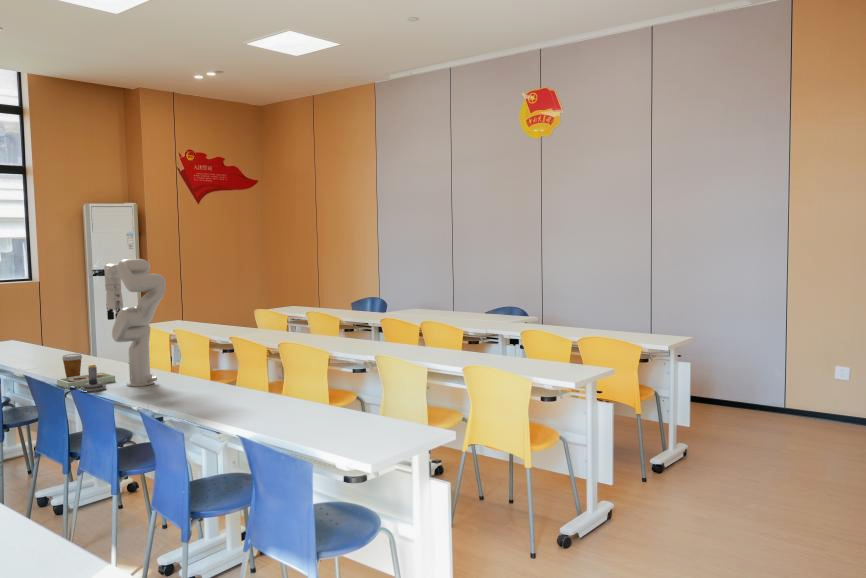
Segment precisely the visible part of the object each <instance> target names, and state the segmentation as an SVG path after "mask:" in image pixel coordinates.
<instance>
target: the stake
mask: <svg viewBox="0 0 866 578" xmlns="http://www.w3.org/2000/svg"><path fill="white" fill-rule="evenodd" d="M87 369H88V372H87V373H88V375H89V383H86V384H84V387H80V391H81V390H83V391H87V392H88V393H97V392H102V390H103V391H105V390H107V385H106V384H103V383H102V382H97V373H98V368H97V365H96V364H95V363H94V364H88V365H87ZM87 392H86V393H87Z"/></svg>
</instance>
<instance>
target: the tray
mask: <svg viewBox="0 0 866 578" xmlns="http://www.w3.org/2000/svg"><path fill="white" fill-rule="evenodd" d="M97 374H105V377H102V378H97V382H102V383H105V384H111V383H115V382H116V375H114V374H111V373H107V372H103V371H102V372H97ZM88 376H89V374H83V375H80V376H75V377H69V378H66V377H64V378H57V379H56V385H57V386H58V387H60V388H64V389H66V390H71V389H70V386H74V387H77V388H76V389H79V388H80V389H81V387H84V384H86V383H89V380H83V381H76V382H70V383H69V382H68V379H71V378H76V377H88Z"/></svg>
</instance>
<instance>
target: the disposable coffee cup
mask: <svg viewBox="0 0 866 578" xmlns="http://www.w3.org/2000/svg"><path fill="white" fill-rule="evenodd" d="M82 358H83V356H82V354H81V353H69V354H64V355H63V356H62V357H61V359H62V362H63V366H64V371H65V378H69V377H75V376H81V370H82V369H81V368H82Z"/></svg>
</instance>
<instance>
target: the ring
mask: <svg viewBox="0 0 866 578" xmlns="http://www.w3.org/2000/svg"><path fill="white" fill-rule="evenodd" d="M102 377H105V374H97V378H102ZM83 380H89V376H88V377H76V378H71V379H68V382H69V383H70V382H76V381H83Z"/></svg>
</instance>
